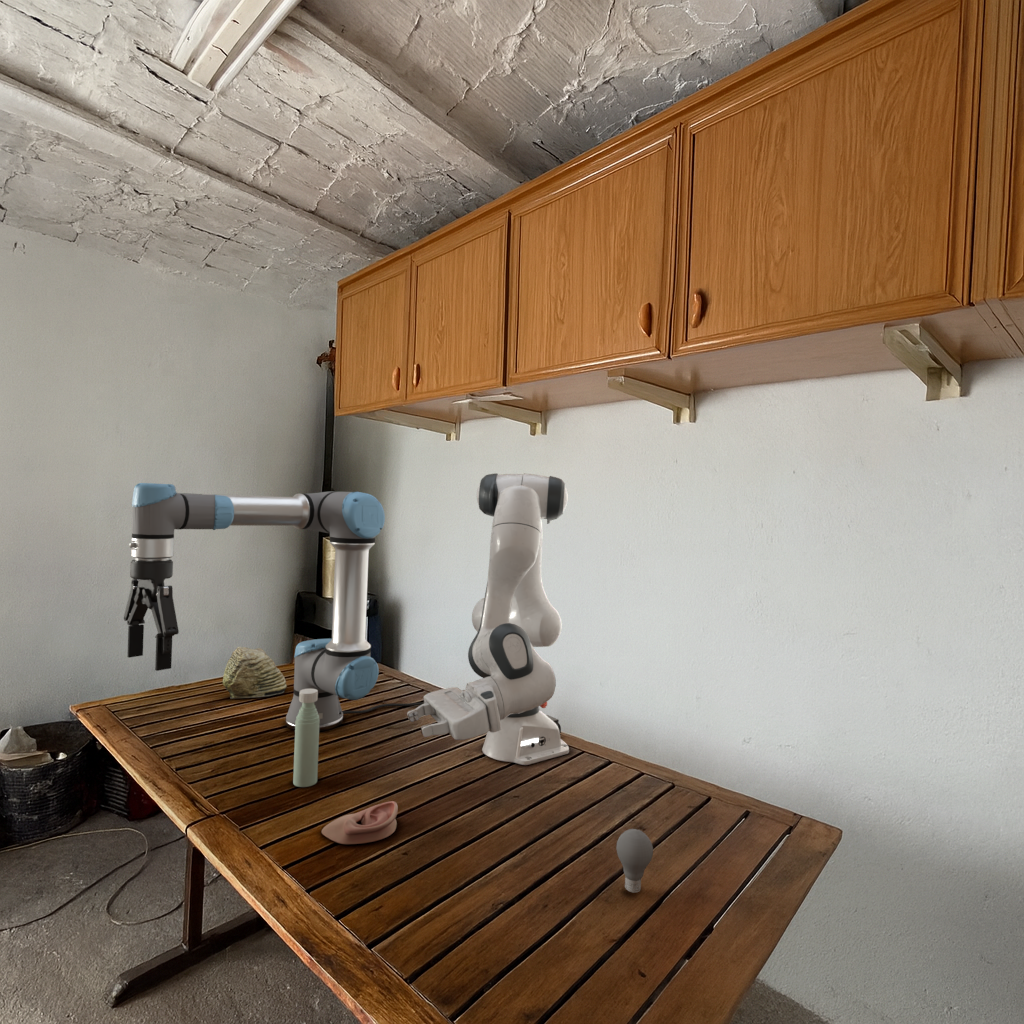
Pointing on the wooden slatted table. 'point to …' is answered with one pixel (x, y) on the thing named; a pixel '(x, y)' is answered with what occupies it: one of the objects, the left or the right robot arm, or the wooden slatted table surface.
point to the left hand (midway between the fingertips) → (148, 662)
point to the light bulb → (634, 857)
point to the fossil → (252, 674)
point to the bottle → (306, 746)
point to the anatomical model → (364, 825)
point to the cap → (308, 695)
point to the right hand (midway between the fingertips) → (415, 724)
